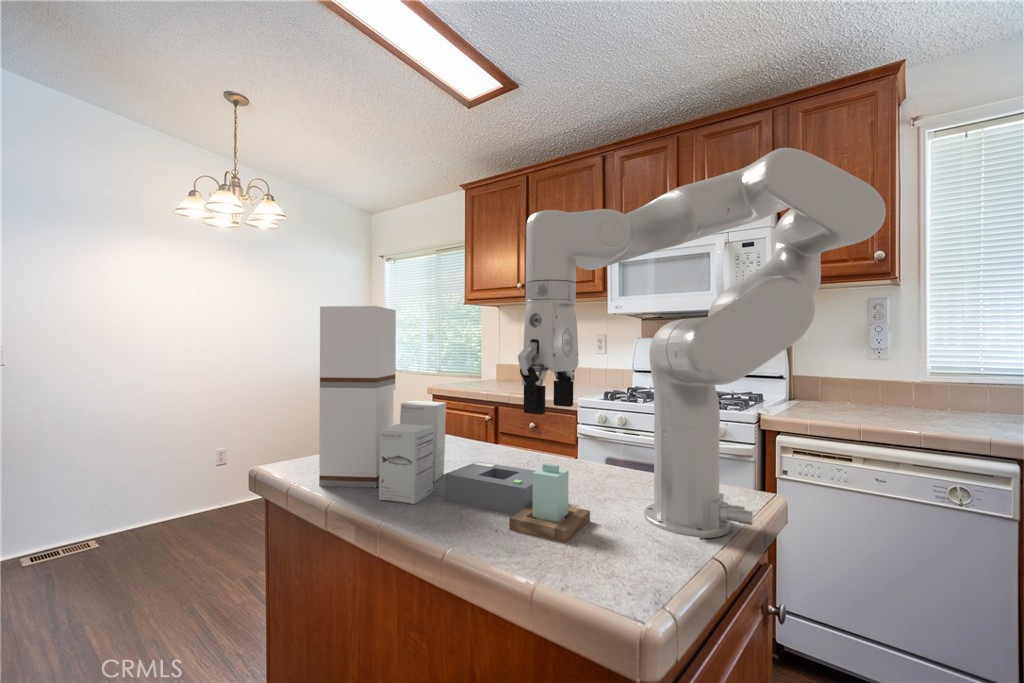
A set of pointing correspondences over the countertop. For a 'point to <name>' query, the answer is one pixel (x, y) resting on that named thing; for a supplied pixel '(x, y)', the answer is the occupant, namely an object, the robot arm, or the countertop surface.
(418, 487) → the supplement box
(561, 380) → the robot arm
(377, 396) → the white striped tall box
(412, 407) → the skincare box
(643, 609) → the countertop surface
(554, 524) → the square wooden tray
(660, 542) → the countertop surface
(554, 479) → the plug
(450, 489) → the panel
